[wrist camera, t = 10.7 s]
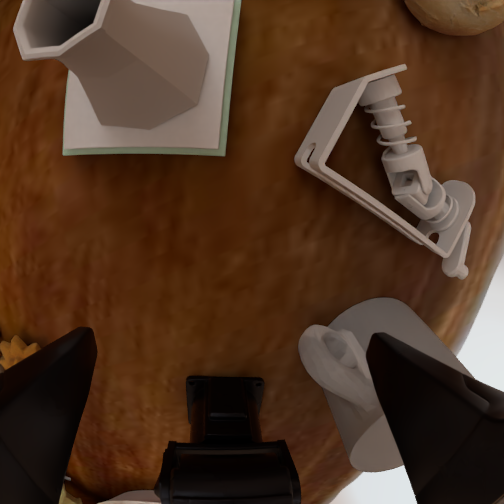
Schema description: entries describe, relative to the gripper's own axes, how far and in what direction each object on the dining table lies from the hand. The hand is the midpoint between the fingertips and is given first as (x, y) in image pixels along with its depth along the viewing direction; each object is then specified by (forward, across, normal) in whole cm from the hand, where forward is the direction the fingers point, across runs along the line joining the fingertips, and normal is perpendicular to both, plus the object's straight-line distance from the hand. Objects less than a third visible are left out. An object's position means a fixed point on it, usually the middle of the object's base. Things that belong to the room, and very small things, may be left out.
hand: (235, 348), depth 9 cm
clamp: (+9, -5, -9) cm, 14 cm away
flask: (+10, +5, -10) cm, 15 cm away
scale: (+12, +5, -10) cm, 16 cm away
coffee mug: (+2, -11, +9) cm, 14 cm away
